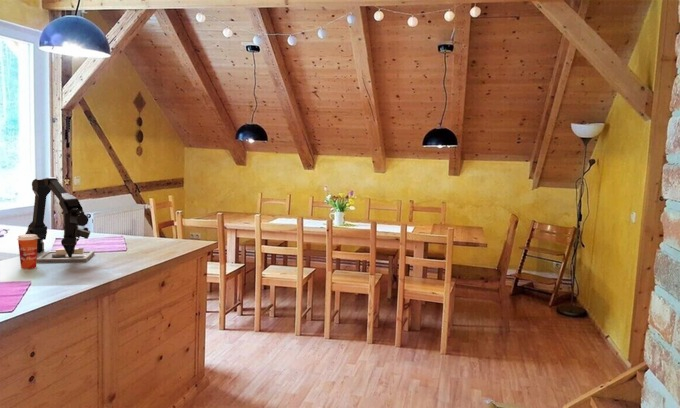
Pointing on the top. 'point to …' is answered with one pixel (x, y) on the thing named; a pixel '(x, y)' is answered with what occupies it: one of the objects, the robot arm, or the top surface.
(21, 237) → the coffee cup
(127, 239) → the top surface
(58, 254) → the long cream stick
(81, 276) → the top surface
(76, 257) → the board
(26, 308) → the top surface
